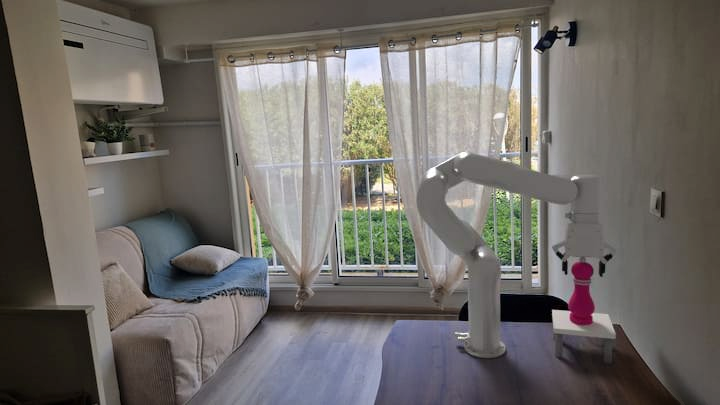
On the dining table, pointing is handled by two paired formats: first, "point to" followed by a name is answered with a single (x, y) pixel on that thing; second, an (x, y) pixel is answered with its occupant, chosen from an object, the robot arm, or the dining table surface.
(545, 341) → the dining table surface
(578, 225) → the robot arm
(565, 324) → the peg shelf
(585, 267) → the pepper mill
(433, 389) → the dining table surface
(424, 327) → the dining table surface
